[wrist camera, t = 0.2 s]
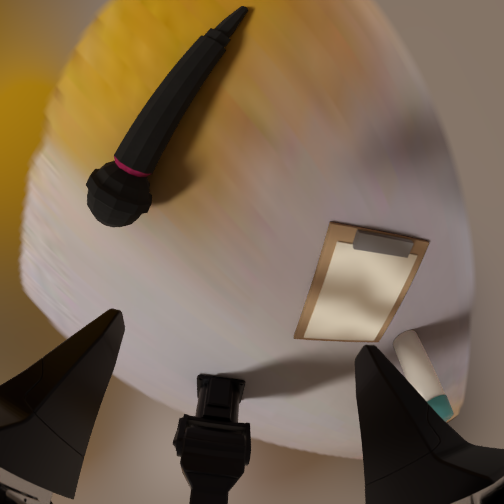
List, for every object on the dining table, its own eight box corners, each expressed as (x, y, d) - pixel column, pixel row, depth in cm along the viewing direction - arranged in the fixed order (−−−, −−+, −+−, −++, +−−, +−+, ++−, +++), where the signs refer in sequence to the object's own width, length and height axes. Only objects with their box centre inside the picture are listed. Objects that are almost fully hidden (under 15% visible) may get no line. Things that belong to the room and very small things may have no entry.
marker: (408, 348, 31) (439, 426, 20) (387, 349, 31) (416, 433, 20) (421, 329, 29) (459, 409, 18) (400, 329, 29) (436, 416, 18)
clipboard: (377, 340, 30) (380, 346, 29) (293, 336, 30) (294, 343, 29) (427, 240, 23) (432, 246, 22) (329, 221, 23) (332, 227, 22)
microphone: (227, 16, 17) (108, 199, 23) (204, -20, 11) (63, 206, 17) (280, 37, 16) (147, 233, 23) (269, -3, 11) (104, 248, 17)
